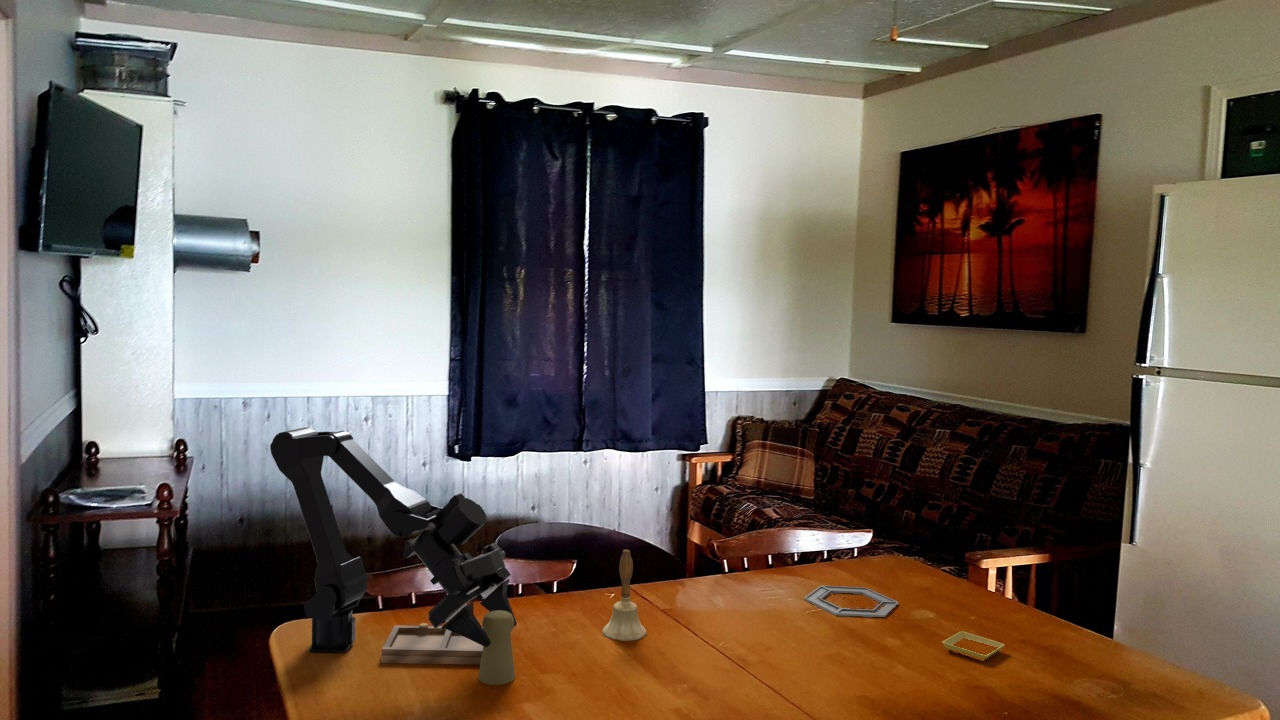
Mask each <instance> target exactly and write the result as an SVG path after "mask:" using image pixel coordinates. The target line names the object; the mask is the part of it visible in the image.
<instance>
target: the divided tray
mask: <svg viewBox="0 0 1280 720" xmlns="http://www.w3.org/2000/svg"><path fill="white" fill-rule="evenodd" d="M442 626H443V625H441V626H439V627H437V628H436V629H435V628H434V627H433V625H429V624H428V623H425V622H423V623H420V624H418V625H394V626H393V628H392V630H391V631H390V633H389V635H388V637H387V639H386V640H385V643H384V644H383V646H382V648H381V655H380V663H381V664H421V665H422V664H426V665H427V664H429V665H431V664H434V665H479V666H480V663H481V657H482V651H483V646H482V645H480V644H478V643H476V642H474V641H472V640H470V639H468V638H466V637H464V636H461V635H459V634H457V633H454V632H452V631H449V630H447V629H444V630H442V629H441V627H442ZM482 628H483V626H482Z"/></svg>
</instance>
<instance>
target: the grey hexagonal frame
mask: <svg viewBox="0 0 1280 720" xmlns="http://www.w3.org/2000/svg"><path fill="white" fill-rule="evenodd" d="M830 593H834V594H841V593H853V594H852V595H861V594H862V595H861V596H863V595H864V597H866V596H867V597H866V598H868V597H869V599H870V598H871V599H870V600H872V599H873V601H874V600H876V601H875V602H877V601H878V602H877V603H879V602H881V603H880V604H876V606H875V607H874V608H873V609H868V608H866V609H850V608H842V607H841V606H838V605H836V604H834V603H832V602H830V601H827V600H825V598H827V597H828V596H829V595H831V594H830ZM828 594H829V595H828ZM827 595H828V596H827ZM826 596H827V597H826ZM824 597H825V598H824ZM823 598H824V599H823ZM805 600H806V601H805ZM803 601H805V602H807V601H808V602H807V603H809V602H810V603H809V604H811V603H812V604H811V605H813V604H814V605H813V606H815V605H816V606H815V607H817V606H818V607H817V608H819V607H820V608H819V609H821V608H822V609H821V610H823V609H824V610H823V611H825V610H826V611H825V612H827V611H828V612H827V613H829V612H830V613H829V614H831V613H832V614H831V615H833V614H834V615H833V616H835V615H838V616H837V617H850V616H864V617H863V618H872V617H885V616H886V615H887V614H888V613H889V612H890V611H891V610H892V609H893V608H895V607H896V605H898V604H899V601H897V600H895V599H892V598H890V597H888V596H886V595H883V594H882V593H879V592H877V591H875V590H872V589H870V588H867V587H859V586H837V585H820V586H818V587H817V588H816V589H814V590H812V592H810V593H809V594H807V595H806V596H805V597H804V600H803ZM885 604H886V605H885ZM881 605H882V606H884V605H885V606H884V607H880V606H881ZM898 606H899V605H898ZM896 608H897V607H896ZM896 608H895V609H896ZM877 609H880V610H877ZM854 611H855V612H854ZM873 612H874V613H873ZM875 612H876V613H875ZM891 612H892V611H891ZM891 612H890V613H891ZM890 613H889V614H890ZM889 614H888V615H889ZM888 615H887V616H888ZM887 616H886V617H887ZM886 617H885V618H886Z"/></svg>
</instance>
